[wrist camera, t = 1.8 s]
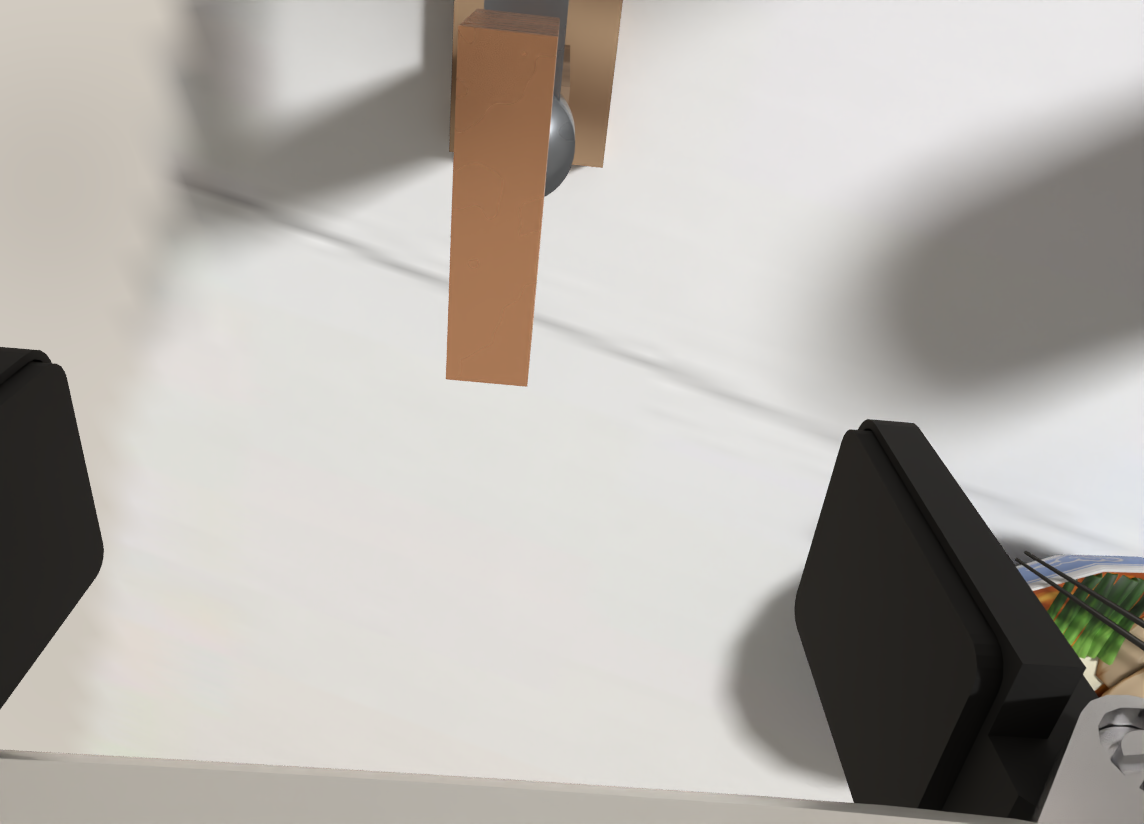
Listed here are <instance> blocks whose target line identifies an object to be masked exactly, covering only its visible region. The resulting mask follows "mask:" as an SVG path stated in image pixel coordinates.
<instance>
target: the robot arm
mask: <svg viewBox="0 0 1144 824" xmlns="http://www.w3.org/2000/svg"><path fill="white" fill-rule="evenodd" d="M103 553H104V548H103V541H102V537H101V532H100V528H99V523H98V518H97V514H96V509H95V505H94V500H93V496H92V491H91V486H90V482H89V477H88V473H87V468H86V464H85V459H84V454H83V450H82V445H81V441H80V436H79V432H78V427H77V423H76V418H75V413H74V409H73V404H72V400H71V395H70V390H69V386H68V382H67V377H66V374H65V371H64V370H63V369H62V367H61V366H59V365H57V364H52V363H51V360H50V359H49V357H48V356H47V355H46V354H45V353H44V352H42V351H40V350H29V349H18V348H5V347H0V709H1V708H2V706H3V705H4V703H5V702H6V701H7V699H8V698H9V697H10V695H11V694H12V692H13V691H14V689H15V688H16V687H17V686H18V684H19V683H20V681H21V680H22V679H23V677H24V676H25V674H26V673H27V672H28V670H29V669H30V668H31V666H32V665H33V663H34V662H35V661H36V659H37V658H38V657H39V655H40V654H41V652H42V651H43V650H44V648H45V647H46V646H47V644H48V643H49V641H50V640H51V639H52V637H53V636H54V635H55V633H56V632H57V630H58V629H59V627H60V626H61V625H62V624H63V622H64V621H65V619H66V618H67V617H68V615H69V614H70V612H71V611H72V610H73V608H74V607H75V606H76V604H77V603H78V601H79V600H80V599H81V597H82V596H83V595H84V593H85V592H86V590H87V589H88V588H89V586H90V585H91V584H92V582H93V581H94V579H95V578H96V576H97V575H98V573H99V571H100V568H101V565H102V561H103ZM795 621H796V626H797V629H798V632H799V635H800V638H801V641H802V644H803V647H804V651H805V654H806V657H807V660H808V663H809V666H810V669H811V672H812V675H813V678H814V681H815V684H816V687H817V690H818V693H819V697H820V700H821V703H822V706H823V709H824V712H825V715H826V718H827V721H828V724H829V727H830V730H831V733H832V736H833V740H834V743H835V746H836V749H837V752H838V755H839V758H840V761H841V764H842V767H843V770H844V773H845V776H846V779H847V783H848V786H849V789H850V792H851V795H852V798H853V801H854V803H845V802H831V801H817V800H805V799H793V798H781V797H768V796H754V795H738V794H723V793H708V792H693V791H678V790H663V789H648V788H632V787H617V786H602V785H587V784H572V783H557V782H541V781H526V780H511V779H495V778H479V777H462V776H446V775H430V774H413V773H397V772H381V771H364V770H348V769H331V768H314V767H298V766H281V765H264V764H247V763H230V762H213V761H196V760H180V759H161V758H143V757H125V756H106V755H88V754H70V753H52V752H32V751H15V750H0V824H1144V698H1140V697H1136V696H1131V695H1105V696H1103V697H1100V698H1099V697H1098V696H1097V694H1096V693H1095V691H1094V690H1093V688H1092V687H1091V685H1090V684H1089V682H1088V681H1087V680H1086V678H1085V677H1084V675H1083V673H1084V671H1085V670H1086V667H1085V665H1084V664H1083V662H1082V661H1081V659H1080V658H1079V656H1078V655H1077V654H1076V652H1075V651H1074V649H1073V648H1072V646H1071V645H1070V644H1069V642H1068V641H1067V639H1066V638H1065V636H1064V635H1063V634H1062V632H1061V631H1060V629H1059V628H1058V626H1057V625H1056V624H1055V622H1054V621H1053V619H1052V618H1051V616H1050V615H1049V614H1048V612H1047V611H1046V609H1045V608H1044V606H1043V605H1042V603H1041V602H1040V601H1039V599H1038V598H1037V596H1036V595H1035V593H1034V592H1033V591H1032V589H1031V588H1030V586H1029V585H1028V583H1027V582H1026V581H1025V579H1024V578H1023V576H1022V575H1021V573H1020V572H1019V571H1018V569H1017V568H1016V566H1015V565H1014V563H1013V562H1012V561H1011V559H1010V558H1009V556H1008V555H1007V553H1006V552H1005V550H1004V549H1003V548H1002V546H1001V545H1000V543H999V542H998V540H997V539H996V538H995V536H994V535H993V533H992V532H991V530H990V529H989V528H988V526H987V525H986V523H985V522H984V520H983V519H982V518H981V516H980V515H979V513H978V512H977V510H976V509H975V508H974V506H973V505H972V503H971V502H970V500H969V499H968V497H967V496H966V495H965V493H964V492H963V490H962V489H961V487H960V486H959V485H958V483H957V482H956V480H955V479H954V477H953V476H952V475H951V473H950V472H949V470H948V469H947V467H946V466H945V465H944V463H943V462H942V460H941V459H940V457H939V456H938V455H937V453H936V452H935V450H934V449H933V447H932V446H931V444H930V443H929V442H928V440H927V439H926V437H925V436H924V434H923V433H922V432H921V430H920V429H919V427H918V426H916V425H915V424H914V423H906V422H894V421H882V420H870V419H867V420H865V421H864V422H863V423H862V424H861V425H860V427H859V429H858V430H848V431H847V432H846V433H845V435H844V437H843V440H842V442H841V446H840V449H839V452H838V456H837V459H836V463H835V466H834V469H833V473H832V476H831V480H830V483H829V486H828V490H827V493H826V496H825V500H824V503H823V507H822V510H821V513H820V517H819V520H818V524H817V527H816V530H815V534H814V537H813V540H812V544H811V547H810V551H809V554H808V557H807V561H806V564H805V568H804V571H803V574H802V578H801V581H800V584H799V588H798V591H797V595H796V600H795Z"/></svg>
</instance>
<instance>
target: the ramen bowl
mask: <svg viewBox="0 0 1144 824" xmlns="http://www.w3.org/2000/svg"><path fill="white" fill-rule="evenodd" d="M1024 553H1025V554H1026V555H1028V556H1029V557H1031V558H1032V559H1034V560H1035V561H1033V562H1030V563H1024V562H1023V561H1021V560H1020V559H1018V558H1016V559H1015V560H1016V561H1017V562H1019V563H1020V564H1021V565H1019V566H1016V568H1017V569H1018V571H1019V572H1020V573H1021V575H1022V576H1023V578H1024V579H1025V581H1026V582H1027V583H1028V585H1029V586H1030V588H1031V589H1032V591H1033V592H1034V593H1035V595H1036V596H1037V598H1038V599H1039V601H1040V602H1041V603H1042V605H1043V606H1044V608H1045V609H1046V611H1047V612H1048V614H1049V615H1050V616H1051V618H1052V619H1053V621H1054V622H1055V624H1056V625H1057V626H1058V628H1059V629H1060V631H1061V632H1062V634H1063V635H1064V636H1065V638H1066V639H1067V641H1068V642H1069V644H1070V645H1071V646H1072V648H1073V649H1074V651H1075V652H1076V654H1077V655H1078V656H1079V658H1080V659H1081V661H1082V662H1083V664H1084V665H1085V667H1086V670H1085V671H1084V673H1083V675H1084V677H1085V678H1086V680H1087V681H1088V682H1089V684H1090V685H1091V687H1092V688H1093V690H1094V691H1095V693H1096V694H1097V696H1098V697H1099V698H1100V697H1103V696H1105V695H1131V696H1136V697H1140V698H1144V558H1142V557H1127V556H1091V555H1055V556H1051V557H1048V558H1044V559H1039V558H1037V557H1036V556H1034V555H1032V554H1031V553H1029V552H1027V551H1025V552H1024Z"/></svg>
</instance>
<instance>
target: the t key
mask: <svg viewBox="0 0 1144 824" xmlns="http://www.w3.org/2000/svg"><path fill="white" fill-rule="evenodd" d="M568 5H569V0H484V9H476V10H475V11H474V12H473V13H472V14H471V15H470V16H468V17H467V18H466V19H465V20H464V21H463V22H462V23H461V24H460V25H458V46H457V75H456V104H455V133H454V162H453V190H452V219H451V248H450V277H449V306H448V335H447V363H446V379H449V380H460V381H472V382H483V383H494V384H505V385H516V386H527V382H528V371H529V361H530V350H531V340H532V329H533V318H534V307H535V295H536V284H537V273H538V261H539V250H540V239H541V227H542V216H543V205H544V197H545V196H547V195H548V194H550V193H551V192H553V191H554V190H555V189H556V188H557V187H558V186H559V185H560V184H561V183H562V182H563V180H564V179H565V177H566V176H567V174H568V172H569V170H570V168H571V166H572V162H573V159H574V153H575V127H574V120H573V116H572V113H571V110H570V108H569V106H568V104H567V102H566V100H565V99H564V97H563V96H562V95H561V94H560V92H561V81H562V70H563V59H564V49H565V38H566V27H567V16H568Z"/></svg>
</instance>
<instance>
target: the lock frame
mask: <svg viewBox="0 0 1144 824" xmlns="http://www.w3.org/2000/svg"><path fill="white" fill-rule="evenodd" d="M622 2H623V0H569V5H568V16H567V27H566V38H565V49H564V59H563V70H562V81H561V92H560V94H561V95H562V96H563V97H564V99H565V100H566V102H567V104H568V106H569V108H570V110H571V113H572V116H573V120H574V127H575V153H574V159H573V162H572V165H582V166H591V167H601V168H603V160H604V151H605V143H606V135H607V126H608V118H609V110H610V101H611V93H612V85H613V76H614V68H615V60H616V52H617V43H618V35H619V27H620V18H621V10H622ZM476 9H484V0H454V21H453V53H452V84H451V115H450V146H449V152H454V133H455V104H456V75H457V46H458V25H460V24H461V23H462V22H463V21H464V20H465V19H466V18H467V17H468V16H470V15H471V14H472V13H473V12H474V11H475V10H476Z"/></svg>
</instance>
